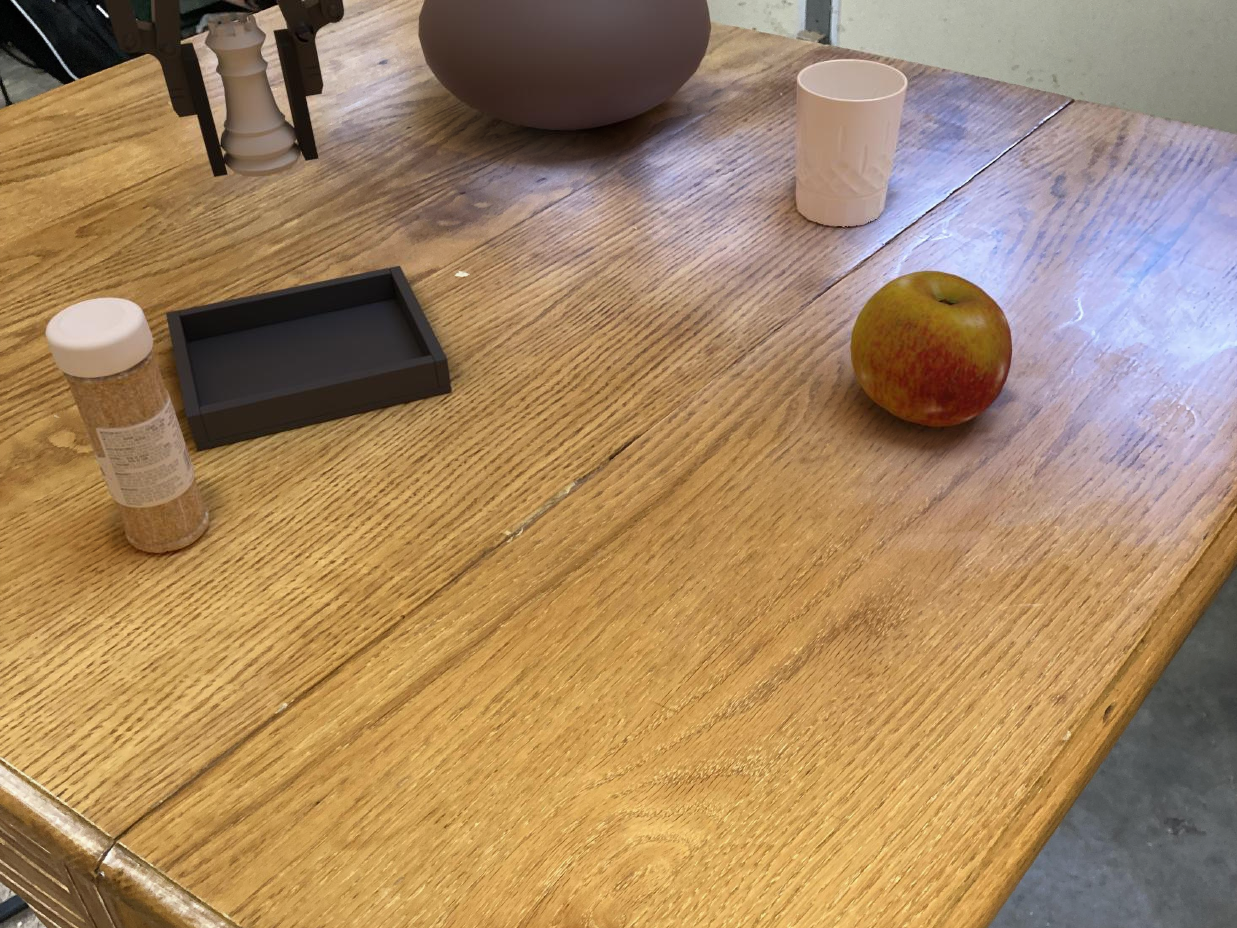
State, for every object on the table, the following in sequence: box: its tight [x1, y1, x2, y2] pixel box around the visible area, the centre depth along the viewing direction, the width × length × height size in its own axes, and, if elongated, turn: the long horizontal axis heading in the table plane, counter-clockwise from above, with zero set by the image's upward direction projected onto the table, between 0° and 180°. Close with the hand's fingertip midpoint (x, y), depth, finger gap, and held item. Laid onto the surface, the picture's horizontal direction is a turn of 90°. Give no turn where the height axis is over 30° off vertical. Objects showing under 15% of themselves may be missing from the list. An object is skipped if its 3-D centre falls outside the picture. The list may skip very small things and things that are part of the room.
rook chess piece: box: [204, 12, 302, 178], centre depth 68 cm, size 4×4×8 cm
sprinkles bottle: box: [45, 297, 211, 554], centre depth 62 cm, size 5×5×13 cm
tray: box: [165, 265, 453, 452], centre depth 78 cm, size 16×13×2 cm
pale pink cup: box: [794, 58, 909, 228], centre depth 90 cm, size 8×8×10 cm
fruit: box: [849, 270, 1013, 428], centre depth 71 cm, size 10×9×8 cm
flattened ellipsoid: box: [417, 0, 712, 131], centre depth 104 cm, size 25×25×15 cm
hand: (263, 157), depth 70 cm, fingers closed on rook chess piece, 4 cm apart
